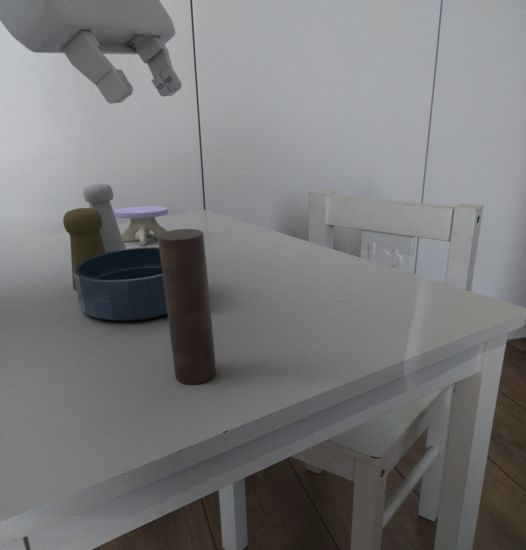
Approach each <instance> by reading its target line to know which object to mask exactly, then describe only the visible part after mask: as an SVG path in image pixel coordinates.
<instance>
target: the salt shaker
mask: <svg viewBox="0 0 526 550" xmlns="http://www.w3.org/2000/svg"><path fill="white" fill-rule="evenodd" d="M82 190H83V198H84V200H85V201H86V203H89V204H88V205H89V207H88V208H91V209H95V210H97V211H98V212H99V213H100V215H101V218H102V228H101V230H100V234H101V237H102V240H103V244H104V247H105V250H106V252H111V251H116V250H122V249H127V247H126V245H125V242H123V239H122V236H121V235H122V234H121V230H120V228H119V225H118V221H117V217H115V215H114V212H113V211H114V209H113V206H112V203H111V201H112V200H113V199H114V191H113V187H111V186H110V185H109V184H107V183H95V184H90V185H87V186H85V187H84V189H82Z"/></svg>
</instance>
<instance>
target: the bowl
mask: <svg viewBox="0 0 526 550" xmlns="http://www.w3.org/2000/svg"><path fill="white" fill-rule="evenodd" d="M73 273H74V278H75V283H76V288H77V290H76V293H77V299H78V303H79V304H78V305H79V309H80V310H81V311H82V312H83V313H84V314H86V315H88V316H91V317H93V318H96V319H100V320H101V319H102V320H106V321H111V322H112V321H114V322H137V321H144V320H151V319H157V318H160V317H164V316H168V314H167V306H166V298H165V290H164V283H163V275H162V267H161V259H160V251H159V246H140V247H132V248H126V249H122V250H116V251H111V252H106V253H103V254H99V255H96V256H93V257H90V258H88V259H86V260H83V261H81V262H80V263H79V264H77V265H76V266H75V267H74V272H73Z"/></svg>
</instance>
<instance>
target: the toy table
mask: <svg viewBox="0 0 526 550" xmlns="http://www.w3.org/2000/svg"><path fill="white" fill-rule="evenodd" d="M168 209H169V208H168V207H166V206H162V205H161V206H160V205H159V206H158V205H144V206H129V207H122V208H117V209H113V212H114V215H115V218H116V219H130V221H129V225H128V227H127V228H125V230H124V232H122V234H121V236H122V239H123V242H124V243H125V242H127V243H128V242H135V241H136V234H137V232H138V231H139V239H138V240H139V246H140V247H143V246H146V244H147V243H148V242H147V241H148V240H147V237H150V236H151V232H152V233H153V234H154V236H155V239H156V240H158V235H159V234H161V233H163V232H166V231H168V230H167V229H166V228H164V227H163V226H161V225H160V224H159V223H158V221H157V220H156V218H157V217H158V218H159V217H163V216H167V215H168V214H169V210H168Z"/></svg>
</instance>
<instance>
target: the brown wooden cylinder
mask: <svg viewBox="0 0 526 550" xmlns="http://www.w3.org/2000/svg"><path fill="white" fill-rule="evenodd" d="M157 243H158V247H159V251H160V259H161V267H162V275H163V283H164V290H165V298H166V306H167V323H168V329H169V337H170V344H171V350H172V351H171V353H172V360H173V369H174V377H175V379H176V381H177V382H179V383H181V384H185V385H192V386H193V385H201V384H205V383H207V382H211V381H212V380H214V378H215V377H216V376H217V365H216V355H215V344H214V334H213V333H214V332H213V322H212V312H211V301H210V289H209V280H208V279H209V278H208V269H207V257H206V247H205V246H206V245H205V237H204V232H203V231H202V230H200V229H196V228H178V229H172V230H171V229H170V230H167V231H166V232H163V233H161V234H159V235H158V239H157Z"/></svg>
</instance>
